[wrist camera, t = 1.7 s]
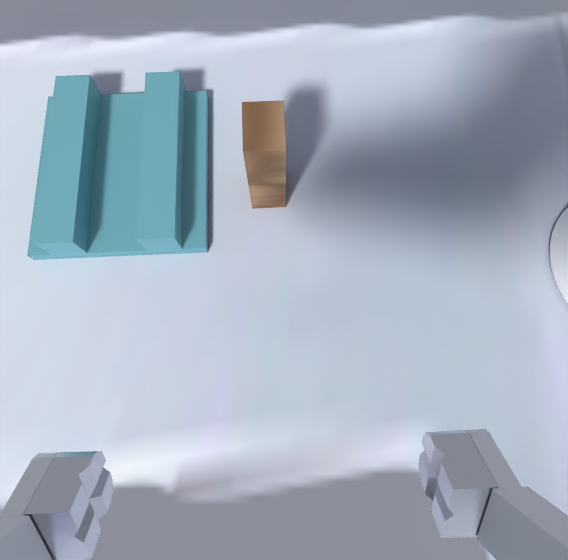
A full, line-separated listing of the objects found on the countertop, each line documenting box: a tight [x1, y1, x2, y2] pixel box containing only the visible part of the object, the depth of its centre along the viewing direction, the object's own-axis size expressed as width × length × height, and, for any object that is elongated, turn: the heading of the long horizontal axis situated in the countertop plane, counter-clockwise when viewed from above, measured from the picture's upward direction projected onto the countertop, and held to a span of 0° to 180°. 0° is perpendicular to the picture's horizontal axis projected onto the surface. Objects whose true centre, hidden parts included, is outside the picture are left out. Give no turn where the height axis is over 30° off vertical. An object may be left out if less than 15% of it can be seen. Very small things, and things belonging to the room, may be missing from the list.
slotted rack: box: [27, 72, 208, 260], centre depth 37 cm, size 15×16×4 cm
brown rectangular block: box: [242, 101, 286, 208], centre depth 34 cm, size 3×4×9 cm
